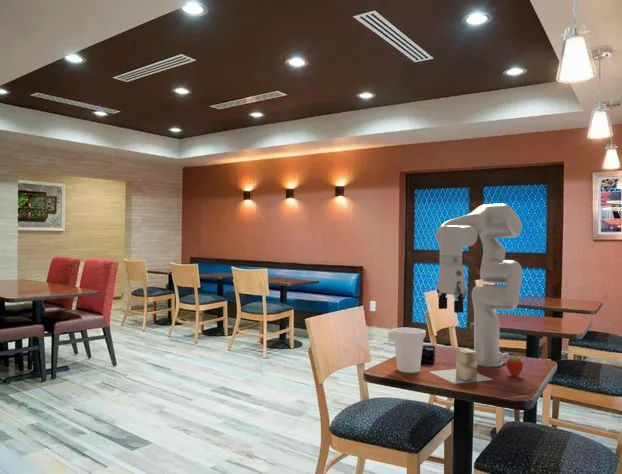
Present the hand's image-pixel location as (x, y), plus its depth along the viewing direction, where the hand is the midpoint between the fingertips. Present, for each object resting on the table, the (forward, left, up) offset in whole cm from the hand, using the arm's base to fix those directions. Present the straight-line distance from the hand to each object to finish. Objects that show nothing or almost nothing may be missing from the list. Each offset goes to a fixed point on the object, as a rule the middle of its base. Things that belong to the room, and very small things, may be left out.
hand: (450, 310), depth 167 cm
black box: (-6, -27, -25) cm, 37 cm away
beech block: (-7, 0, -24) cm, 25 cm away
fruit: (-27, +1, -25) cm, 37 cm away
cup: (+6, -17, -25) cm, 31 cm away
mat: (-8, -5, -25) cm, 26 cm away
